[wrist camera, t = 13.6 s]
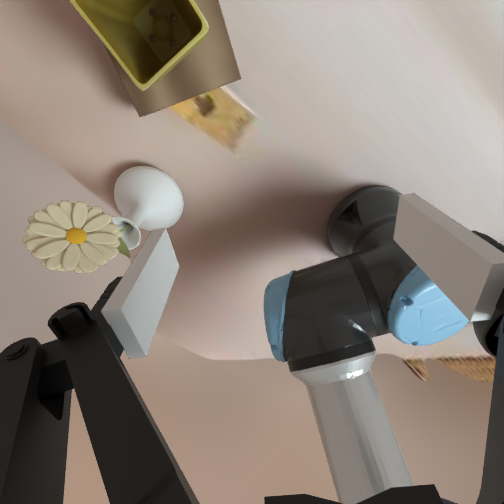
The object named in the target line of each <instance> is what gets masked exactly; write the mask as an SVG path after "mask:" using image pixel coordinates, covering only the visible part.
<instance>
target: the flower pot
mask: <svg viewBox="0 0 504 504" xmlns="http://www.w3.org/2000/svg"><path fill="white" fill-rule="evenodd" d="M69 1H70V3H71V4H72V5H73V6H74V8H75V9H76V10H77V11H78V13H79V14H80V15H81V16H82V17H83V19H84V20H85V21H86V22H87V23H88V24H89V26H90V27H91V28H92V30H93V31H94V32H95V33H96V34H97V36H98V37H99V38H100V39H101V41H102V42H103V43H104V44H105V46H106V47H107V48H108V49H109V51H110V52H111V53H112V55H113V56H114V57H115V58H116V60H117V61H118V62H119V64H120V65H121V66H122V68H123V69H124V70H125V72H126V73H127V74H128V75H129V77H130V78H131V80H132V81H133V82H134V83H135V85H136V86H137V87H138V88H139V89H140V90H141V91H145V90H147V89H148V88H150V87H152V86H153V85H155V84H156V83H158V82H159V81H160V80H161V79H162V78H163V77H164V76H165V75H166V74H167V73H168V72H169V71H170V70H171V69H172V68H173V67H175V66H176V65H177V64H178V63H179V62H180V61H181V60H182V59H183V58H184V57H185V56H186V55H187V54H189V53H190V52H191V51H192V50H193V49H194V48H195V47H196V46H197V45H199V44H200V43H201V42H202V41H203V40H204V39H205V38H206V37H207V34H208V31H209V25H208V22H207V20H206V19H205V17H204V15H203V14H202V12H201V11H200V9H199V8H198V6H197V4H196V3H195V1H194V0H69ZM151 10H154V11H155V16H152V15H151V14H150V11H151ZM172 15H175V16H176V21H173V20H172V19H171V16H172ZM152 35H153V36H155V41H152V40H151V36H152ZM171 40H174V41H175V42H176V44H175V46H172V45H171Z"/></svg>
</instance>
